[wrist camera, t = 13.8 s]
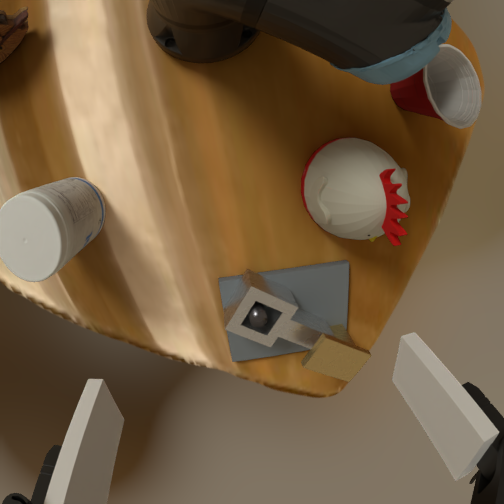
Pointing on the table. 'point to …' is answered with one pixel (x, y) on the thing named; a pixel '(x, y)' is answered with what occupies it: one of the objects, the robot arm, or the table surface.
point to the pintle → (258, 315)
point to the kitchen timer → (355, 190)
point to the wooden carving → (12, 31)
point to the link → (271, 313)
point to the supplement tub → (49, 226)
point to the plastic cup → (442, 89)
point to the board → (306, 296)
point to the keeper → (336, 355)
